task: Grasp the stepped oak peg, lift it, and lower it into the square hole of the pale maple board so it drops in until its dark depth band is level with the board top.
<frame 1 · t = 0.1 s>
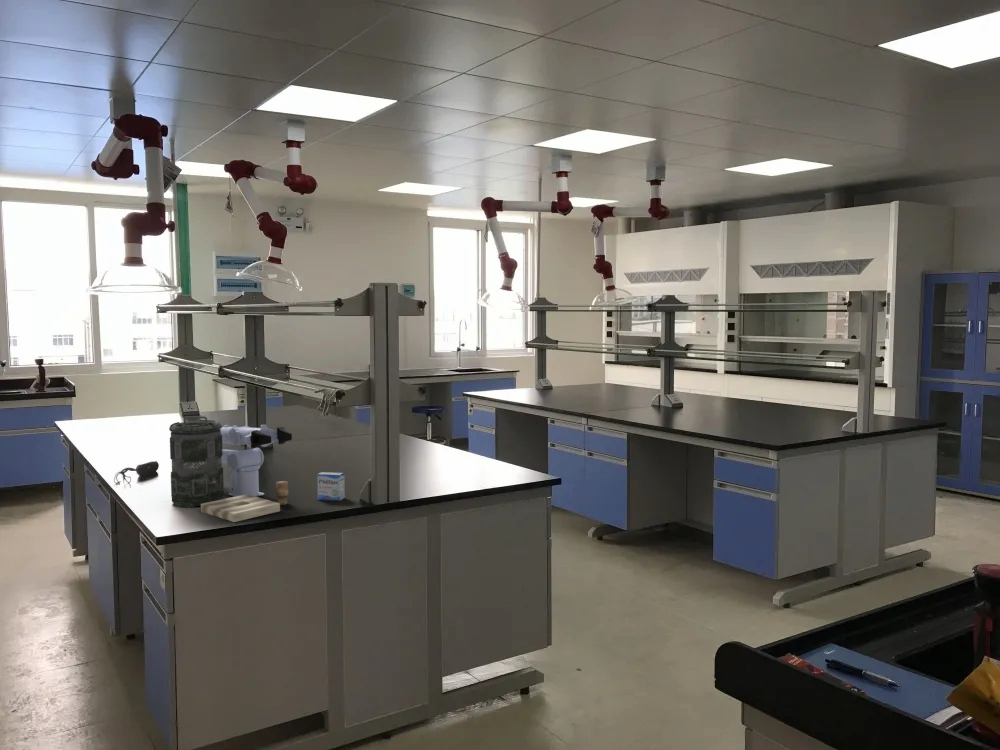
hand: (280, 438, 247), 22 cm above the countertop, fingers open, 7 cm apart
board: (240, 511, 240), on the countertop
peg: (282, 503, 250), on the countertop
canister: (198, 502, 252), on the countertop
medicine box: (331, 499, 256), on the countertop
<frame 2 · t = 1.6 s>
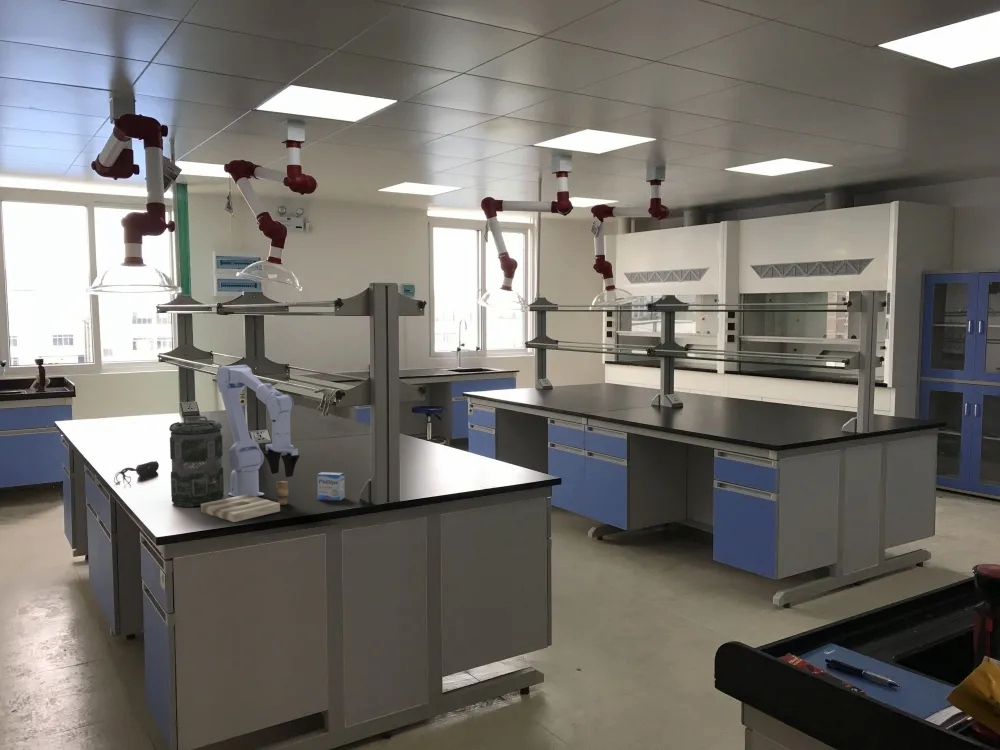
hand: (282, 474, 249), 9 cm above the countertop, fingers open, 7 cm apart
nothing on the countertop moved.
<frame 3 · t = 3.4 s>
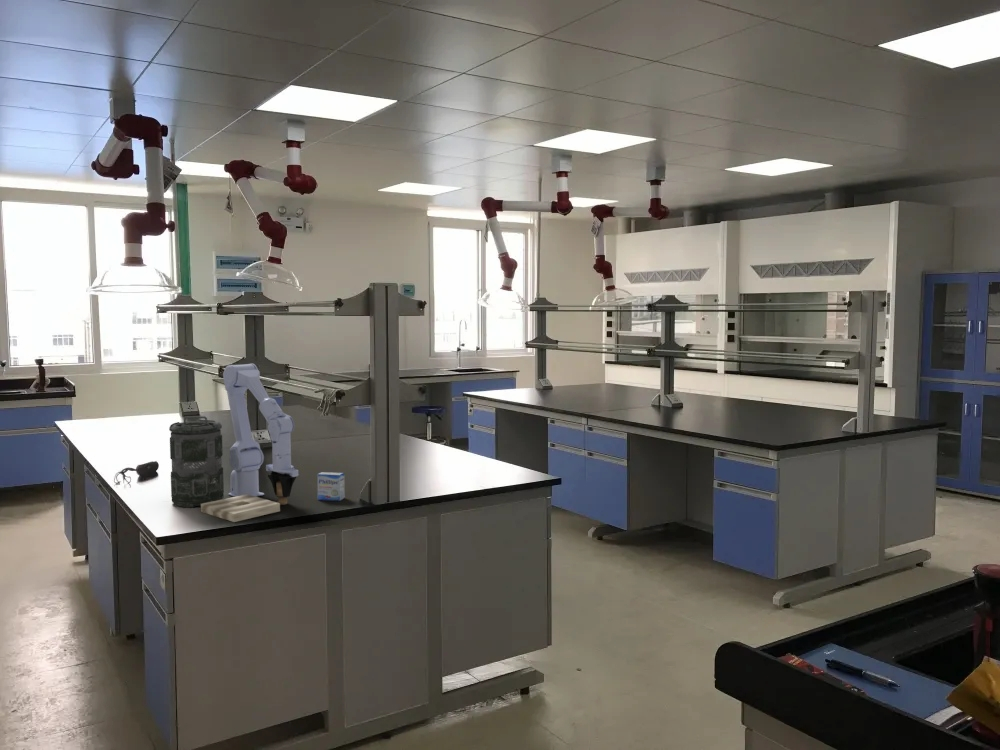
hand: (282, 495, 250), 3 cm above the countertop, fingers closed on peg, 4 cm apart
peg: (282, 503, 250), on the countertop, touching gripper
everything else where it was.
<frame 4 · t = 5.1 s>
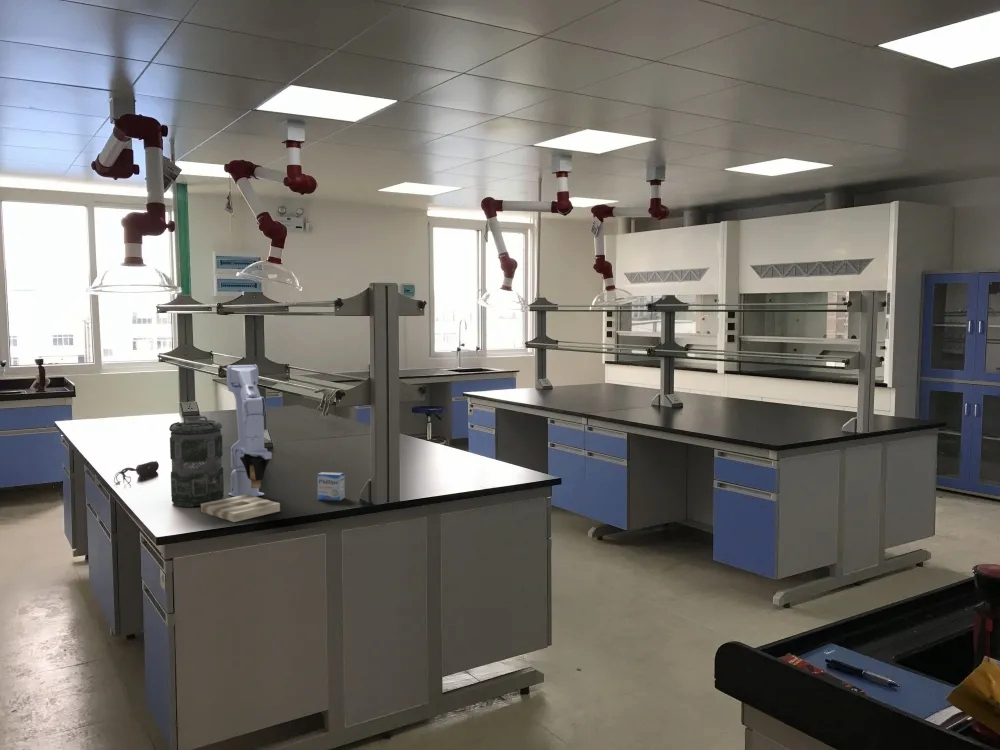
hand: (255, 479, 243), 9 cm above the countertop, fingers closed on peg, 4 cm apart
peg: (255, 487, 243), point 7 cm above the countertop, touching gripper
everything else where it was.
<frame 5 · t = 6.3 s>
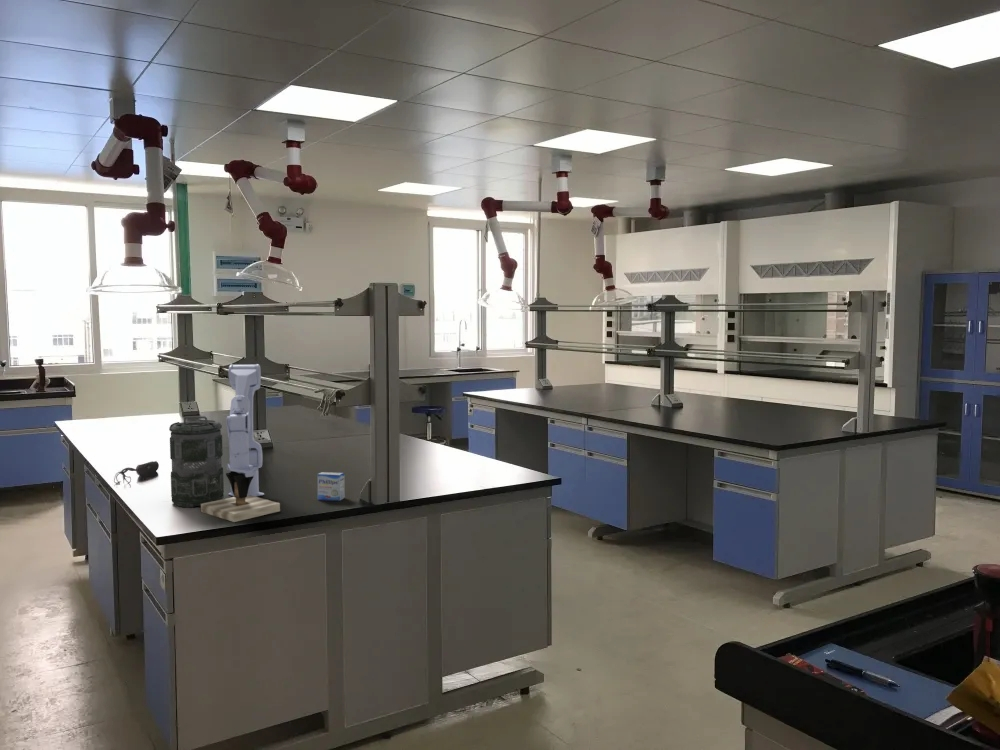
hand: (240, 496, 240), 5 cm above the countertop, fingers closed on peg, 4 cm apart
peg: (240, 504, 240), point 2 cm above the countertop, touching gripper
everything else where it was.
when the fingers open (4 cm above the countertop, at t = 7.2 s): peg drops 2 cm, resting in board.
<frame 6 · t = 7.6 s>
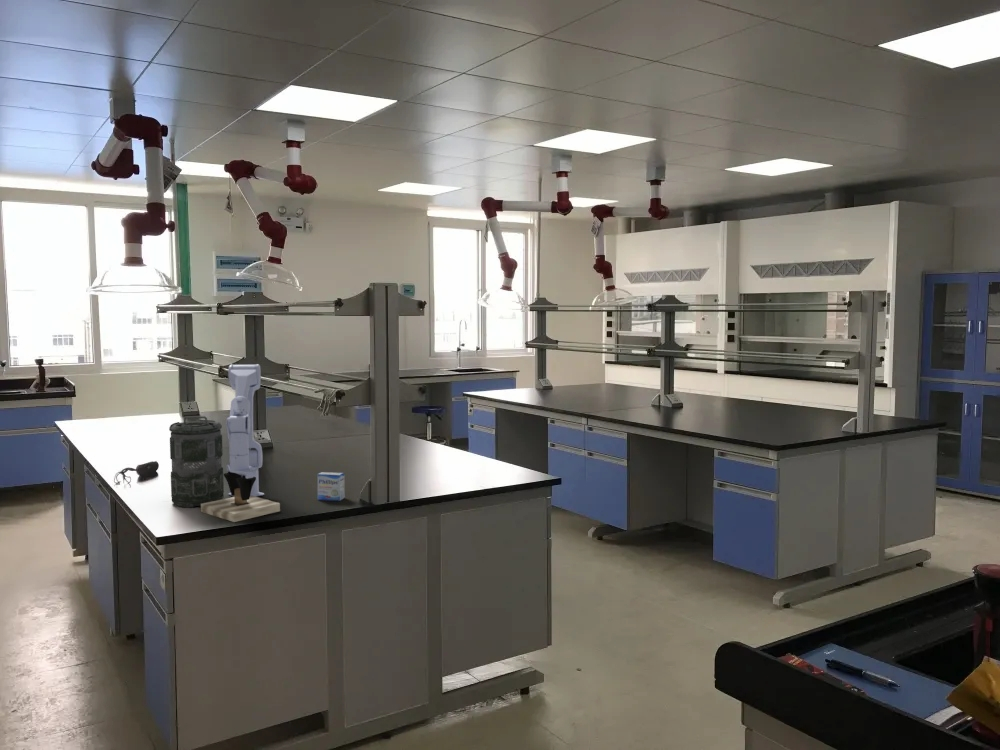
hand: (240, 497, 240), 4 cm above the countertop, fingers open, 7 cm apart
peg: (240, 511, 240), resting in board
everything else where it was.
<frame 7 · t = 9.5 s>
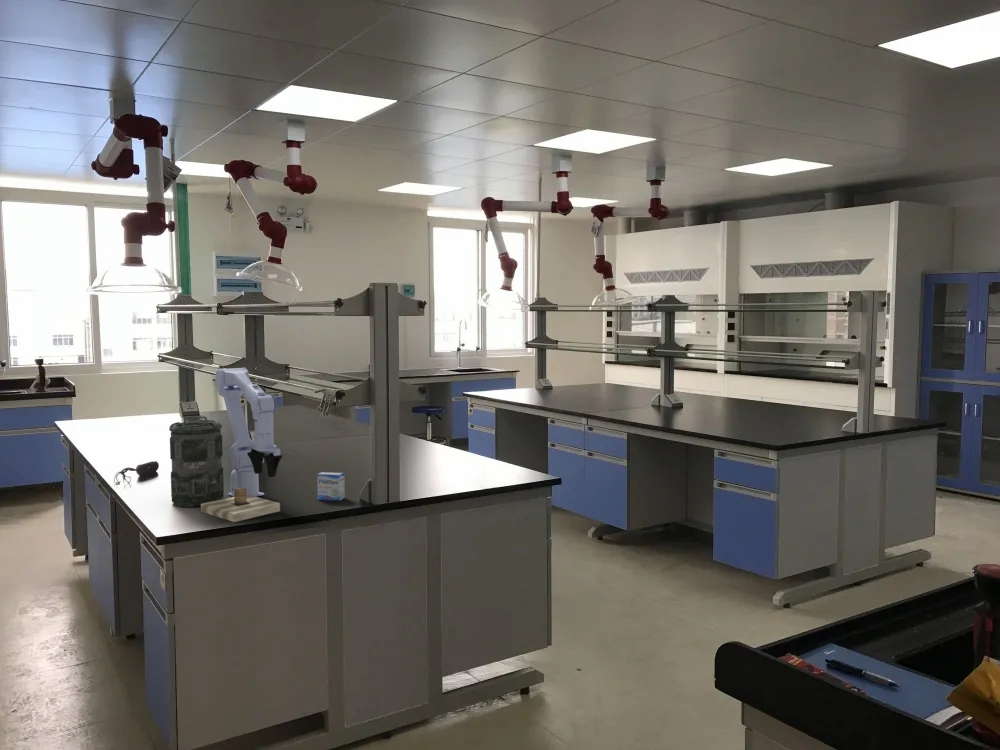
hand: (265, 474, 249), 9 cm above the countertop, fingers open, 7 cm apart
nothing on the countertop moved.
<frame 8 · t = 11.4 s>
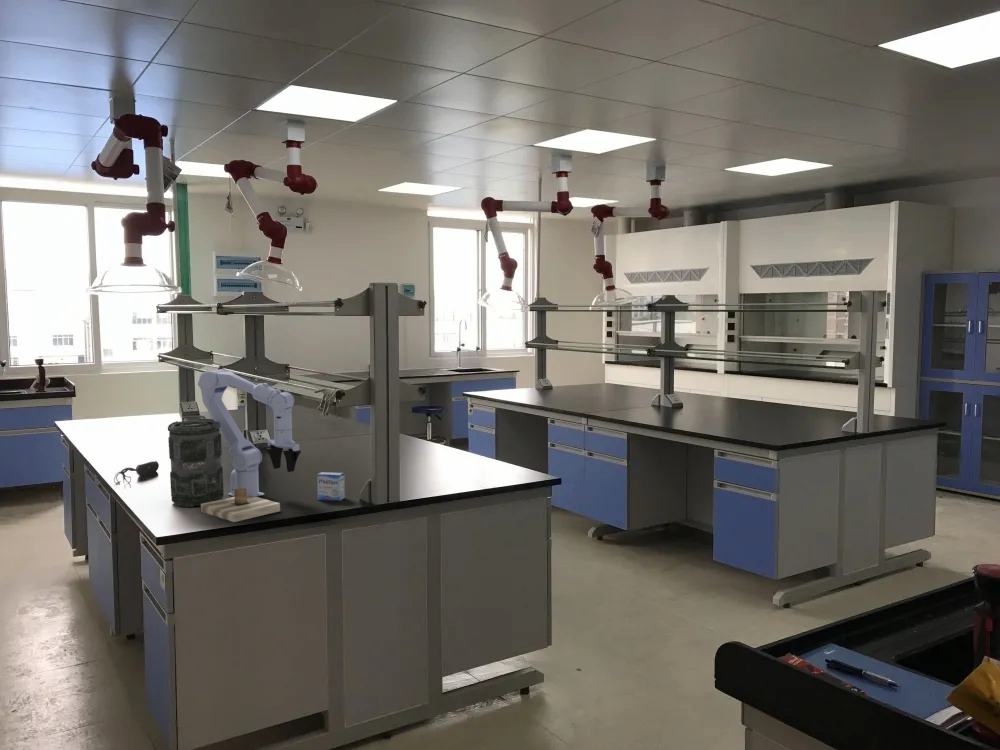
hand: (283, 469, 257), 9 cm above the countertop, fingers open, 7 cm apart
canister: (198, 501, 252), on the countertop, touching arm
everything else where it was.
at the end: peg 0.1 cm off-centre on the board, point 0.0 cm above the board's base; peg tilted 0°; the gripper is holding nothing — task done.
